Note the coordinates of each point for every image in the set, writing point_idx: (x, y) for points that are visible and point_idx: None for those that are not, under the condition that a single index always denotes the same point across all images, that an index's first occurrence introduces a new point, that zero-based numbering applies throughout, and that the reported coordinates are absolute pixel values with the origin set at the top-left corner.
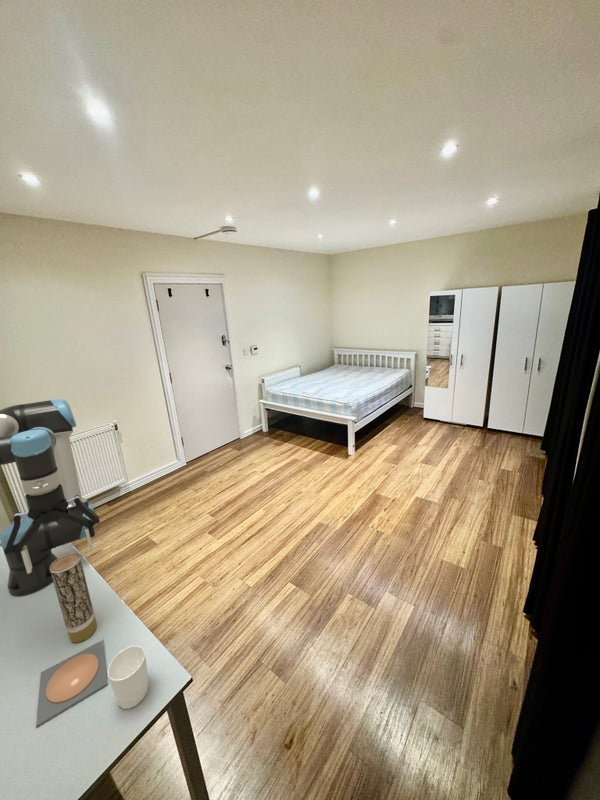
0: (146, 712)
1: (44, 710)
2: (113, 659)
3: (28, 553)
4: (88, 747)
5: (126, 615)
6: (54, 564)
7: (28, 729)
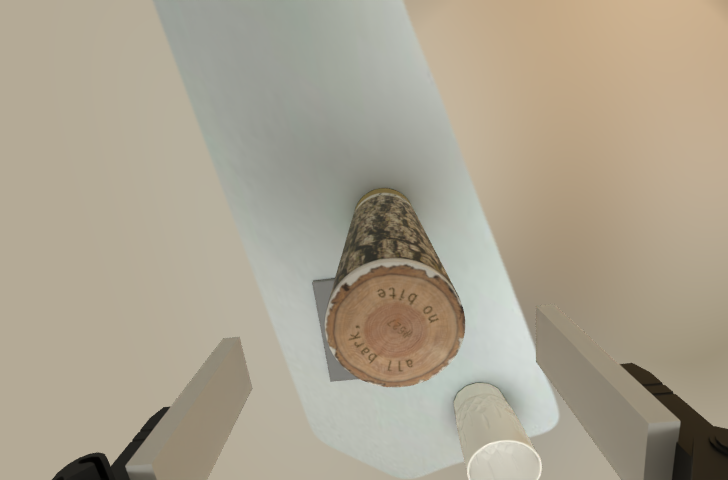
0: None
1: (338, 363)
2: (479, 450)
3: (195, 400)
4: (411, 441)
5: (481, 218)
6: (343, 320)
7: (319, 374)
